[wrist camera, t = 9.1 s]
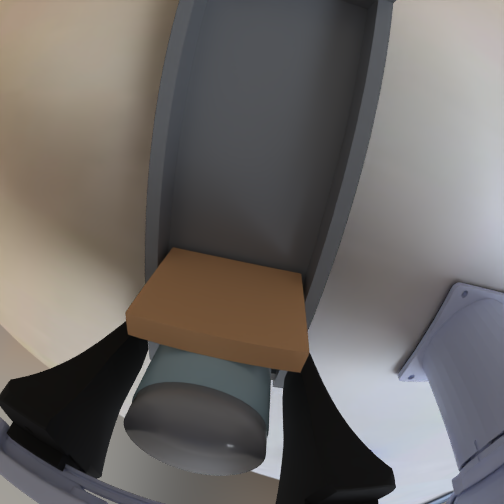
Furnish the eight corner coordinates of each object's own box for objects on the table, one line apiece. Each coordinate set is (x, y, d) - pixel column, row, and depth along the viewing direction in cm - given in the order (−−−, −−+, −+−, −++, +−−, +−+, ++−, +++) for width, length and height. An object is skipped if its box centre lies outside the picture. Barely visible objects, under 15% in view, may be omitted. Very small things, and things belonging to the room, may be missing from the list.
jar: (287, 307, 13) (293, 433, 7) (252, 375, 15) (240, 484, 9) (187, 272, 13) (123, 381, 7) (168, 347, 15) (123, 448, 8)
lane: (386, 4, 8) (415, -23, 5) (286, 368, 17) (286, 412, 14) (199, -29, 8) (176, -63, 5) (155, 340, 17) (136, 379, 14)
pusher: (301, 273, 13) (309, 352, 8) (295, 291, 13) (300, 372, 9) (172, 247, 13) (125, 312, 8) (172, 265, 13) (128, 334, 9)
